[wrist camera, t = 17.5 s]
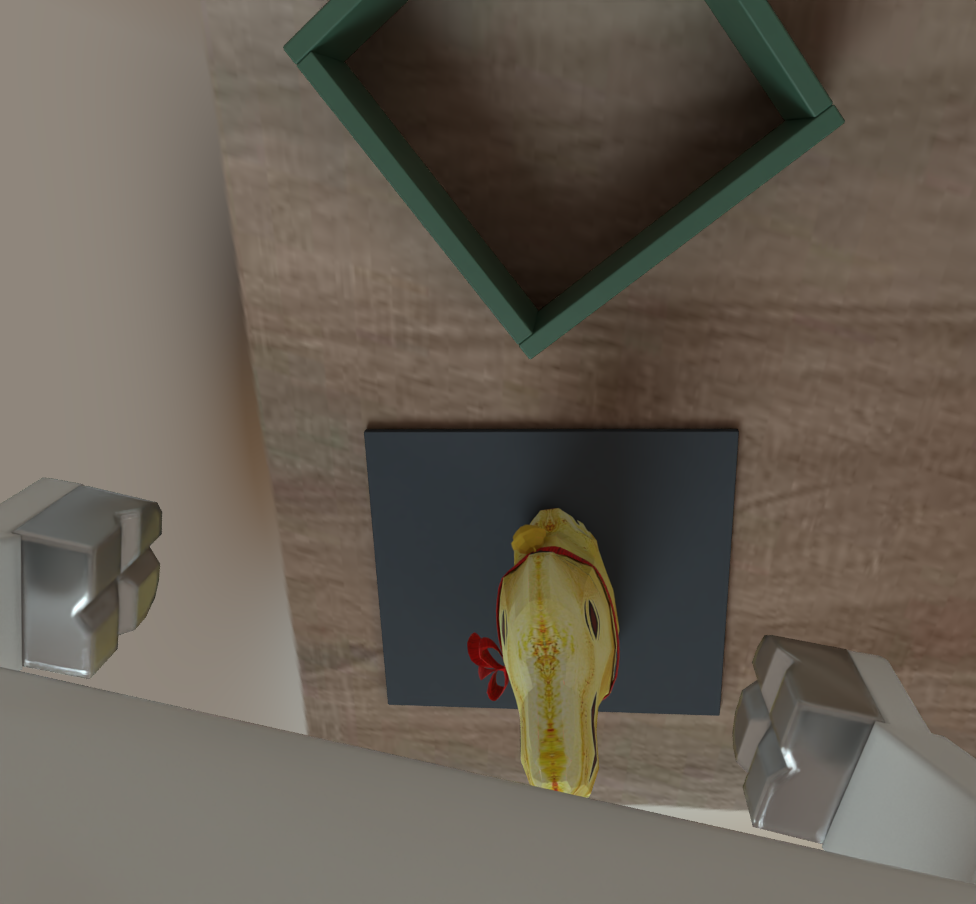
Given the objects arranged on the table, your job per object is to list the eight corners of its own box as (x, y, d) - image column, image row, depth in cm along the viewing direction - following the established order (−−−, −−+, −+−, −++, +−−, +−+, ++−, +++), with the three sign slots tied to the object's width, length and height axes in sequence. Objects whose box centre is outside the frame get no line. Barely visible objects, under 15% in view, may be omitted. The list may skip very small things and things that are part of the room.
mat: (737, 428, 41) (738, 431, 40) (718, 711, 46) (719, 715, 46) (365, 429, 43) (363, 431, 42) (389, 700, 48) (387, 704, 48)
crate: (811, 124, 36) (846, 122, 31) (535, 334, 40) (529, 360, 35) (593, -208, 33) (596, -266, 28) (319, 59, 37) (281, 47, 32)
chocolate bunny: (599, 474, 42) (608, 643, 28) (628, 666, 45) (650, 903, 31) (462, 492, 43) (404, 665, 29) (501, 679, 46) (466, 913, 32)
